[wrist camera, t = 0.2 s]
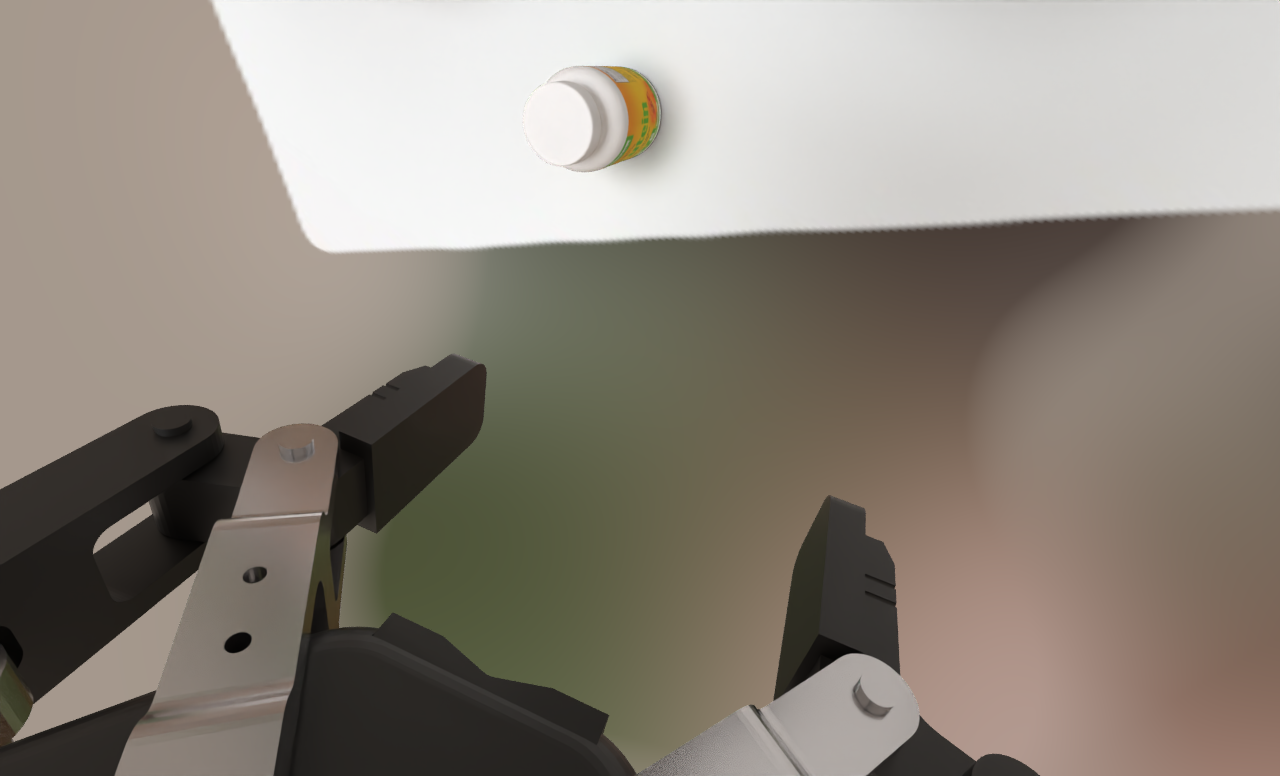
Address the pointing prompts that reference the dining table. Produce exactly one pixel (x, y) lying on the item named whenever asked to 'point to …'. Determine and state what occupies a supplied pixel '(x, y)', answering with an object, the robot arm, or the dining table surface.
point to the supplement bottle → (591, 117)
